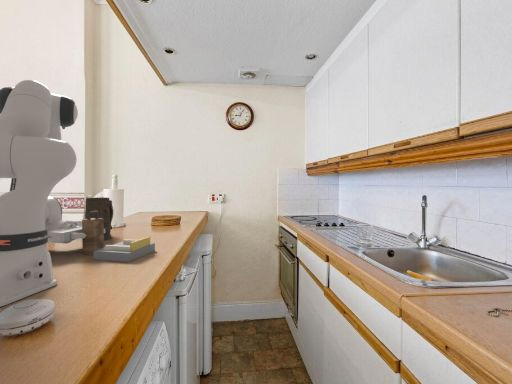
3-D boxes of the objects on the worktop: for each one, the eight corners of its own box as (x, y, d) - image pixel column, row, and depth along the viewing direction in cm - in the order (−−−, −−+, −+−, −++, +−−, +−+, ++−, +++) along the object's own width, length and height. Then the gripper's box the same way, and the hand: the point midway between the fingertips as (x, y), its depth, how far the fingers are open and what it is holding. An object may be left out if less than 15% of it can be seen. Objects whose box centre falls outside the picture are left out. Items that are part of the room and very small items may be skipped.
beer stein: (102, 241, 128) (103, 197, 129) (78, 241, 128) (80, 197, 129) (119, 237, 143) (120, 197, 144) (98, 237, 144) (99, 197, 144)
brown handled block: (94, 254, 106) (93, 212, 105) (82, 254, 107) (81, 211, 106) (104, 251, 111) (103, 210, 110) (92, 250, 112) (92, 210, 111)
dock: (93, 259, 99) (93, 242, 99) (123, 248, 115) (123, 234, 115) (129, 261, 97) (129, 244, 96) (154, 250, 112) (154, 235, 112)
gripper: (38, 228, 100) (72, 229, 98) (84, 220, 120) (113, 221, 118) (39, 245, 101) (72, 247, 98) (84, 235, 121) (113, 236, 118)
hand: (95, 233), depth 108 cm, fingers open, 8 cm apart
